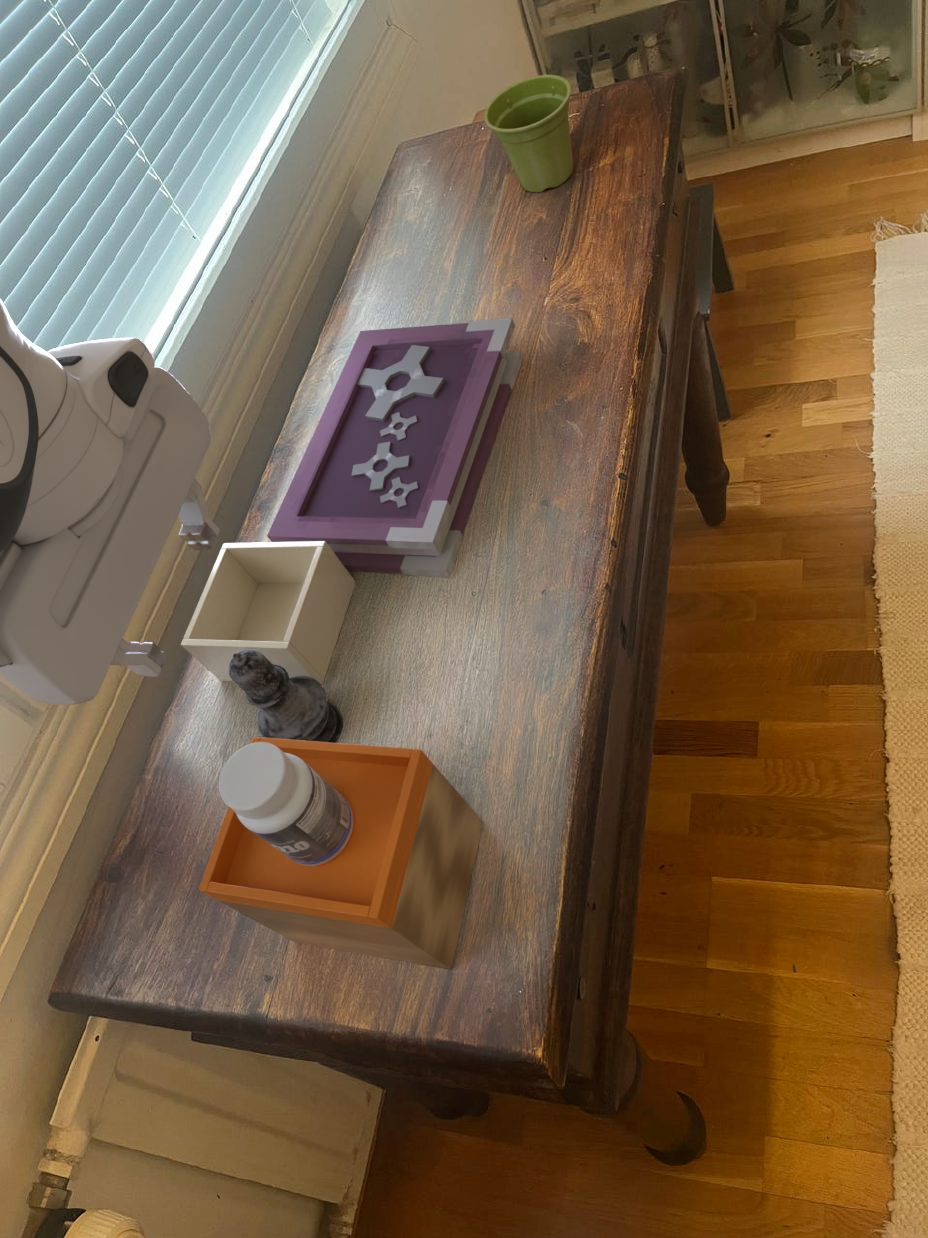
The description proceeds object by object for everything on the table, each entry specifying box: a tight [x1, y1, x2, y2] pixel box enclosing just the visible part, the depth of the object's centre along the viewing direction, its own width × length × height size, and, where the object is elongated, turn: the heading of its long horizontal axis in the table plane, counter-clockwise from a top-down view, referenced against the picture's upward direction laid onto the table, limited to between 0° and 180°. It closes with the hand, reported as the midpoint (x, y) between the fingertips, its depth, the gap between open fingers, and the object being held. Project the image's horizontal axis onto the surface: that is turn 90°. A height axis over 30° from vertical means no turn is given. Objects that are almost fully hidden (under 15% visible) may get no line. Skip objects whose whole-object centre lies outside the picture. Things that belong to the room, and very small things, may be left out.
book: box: [266, 317, 524, 578], centre depth 84 cm, size 25×16×5 cm, turn 163°
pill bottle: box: [218, 742, 354, 866], centre depth 53 cm, size 5×5×8 cm
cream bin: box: [180, 541, 357, 686], centre depth 78 cm, size 10×10×6 cm
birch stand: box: [217, 763, 484, 971], centre depth 61 cm, size 10×12×10 cm
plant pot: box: [483, 74, 574, 193], centre depth 101 cm, size 9×9×9 cm
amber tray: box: [198, 736, 434, 928], centre depth 56 cm, size 10×12×2 cm
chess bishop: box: [229, 649, 344, 743], centre depth 69 cm, size 6×6×12 cm
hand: (182, 601), depth 59 cm, fingers open, 8 cm apart
